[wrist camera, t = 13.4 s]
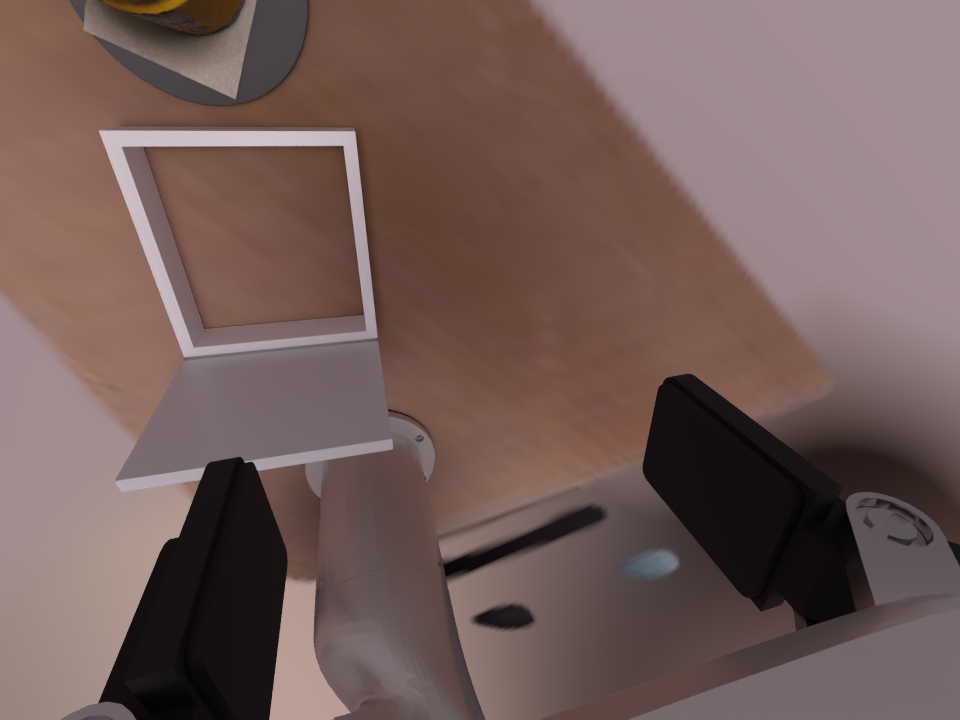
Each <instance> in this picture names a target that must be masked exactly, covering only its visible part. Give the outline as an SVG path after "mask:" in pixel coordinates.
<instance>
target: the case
mask: <svg viewBox="0 0 960 720" xmlns="http://www.w3.org/2000/svg"><path fill="white" fill-rule="evenodd" d="M99 132H100V135H101V137H102V140H103V143H104V145H105V148H106V151H107V153H108V156H109V159H110V161H111V164H112V167H113V169H114V172H115V175H116V177H117V180H118V183H119V185H120V188H121V191H122V193H123V196H124V199H125V201H126V204H127V207H128V209H129V212H130V215H131V217H132V220H133V223H134V225H135V228H136V230H137V233H138V236H139V238H140V241H141V244H142V246H143V249H144V252H145V254H146V257H147V260H148V262H149V265H150V268H151V270H152V273H153V276H154V278H155V281H156V284H157V286H158V289H159V292H160V294H161V297H162V300H163V302H164V305H165V308H166V310H167V313H168V316H169V318H170V321H171V324H172V326H173V329H174V332H175V334H176V337H177V339H178V342H179V345H180V347H181V350H182V353H183V355H184V361H183V363H182V364H181V366H180V368H179V370H178V371H177V373H176V375H175V377H174V378H173V380H172V382H171V384H170V385H169V387H168V389H167V391H166V392H165V394H164V396H163V398H162V399H161V401H160V403H159V405H158V406H157V408H156V410H155V412H154V413H153V415H152V417H151V419H150V420H149V422H148V424H147V426H146V427H145V429H144V431H143V433H142V434H141V436H140V438H139V440H138V441H137V443H136V445H135V447H134V448H133V450H132V452H131V454H130V456H129V457H128V459H127V461H126V462H125V464H124V466H123V468H122V469H121V471H120V473H119V475H118V476H117V478H116V480H115V482H116V484H117V486H118V487H119V489H120V491H121V492H127V491H133V490H139V489H146V488H152V487H158V486H165V485H171V484H177V483H184V482H190V481H196V480H201V478H202V475H203V473H204V470H205V467H206V466H207V464H208V463H209V462H213V461H218V460H224V459H229V458H234V457H242V459H243V460H244V462H245V463H247V462H253V463H254V464H255V466H256V469H257V471H260V470H266V469H272V468H279V467H285V466H291V465H298V464H304V463H310V462H317V461H323V460H329V459H336V458H342V457H348V456H355V455H361V454H367V453H374V452H380V451H386V450H393V443H392V435H391V428H390V421H389V414H388V407H387V400H386V393H385V386H384V379H383V372H382V365H381V358H380V351H379V344H378V336H377V327H376V317H375V308H374V299H373V290H372V281H371V272H370V262H369V253H368V244H367V235H366V226H365V217H364V208H363V198H362V189H361V180H360V171H359V162H358V153H357V144H356V134H355V129H354V128H343V127H170V126H120V127H114V128H109V129H104V130H99ZM143 146H344V154H345V162H346V170H347V178H348V186H349V194H350V203H351V211H352V219H353V227H354V235H355V243H356V251H357V259H358V267H359V276H360V284H361V292H362V300H363V308H364V315H355V316H344V317H332V318H321V319H310V320H298V321H287V322H276V323H264V324H253V325H241V326H230V327H219V328H207V329H204V326H203V323H202V320H201V317H200V314H199V311H198V308H197V305H196V302H195V300H194V297H193V294H192V291H191V288H190V285H189V282H188V279H187V276H186V273H185V270H184V267H183V264H182V261H181V258H180V255H179V252H178V249H177V246H176V243H175V240H174V237H173V234H172V231H171V228H170V225H169V222H168V219H167V216H166V213H165V210H164V207H163V204H162V201H161V198H160V195H159V192H158V189H157V186H156V183H155V180H154V177H153V174H152V171H151V168H150V165H149V162H148V159H147V157H146V154H145V151H144V148H143Z"/></svg>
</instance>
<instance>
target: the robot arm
mask: <svg viewBox="0 0 960 720" xmlns="http://www.w3.org/2000/svg"><path fill="white" fill-rule="evenodd" d="M388 414H389V421H390V428H391V435H392V443H393V450H386V451H380V452H374V453H367V454H361V455H355V456H348V457H342V458H336V459H329V460H323V461H317V462H310V463H305V476H306V480H307V483H308V485H309V486H310V488H311V490H312V491H313V492H314V493H315V494H316V495H317V496H318V497H319V498H320V518H319V537H318V557H317V577H316V597H315V617H314V648H315V653H316V658H317V661H318V664H319V667H320V670H321V672H322V674H323V675H324V677H325V679H326V681H327V683H328V684H329V686H330V687H331V688H332V690H333V691H334V692H335V693H336V695H337V696H338V698H339V699H340V700H341V701H342V702H343V704H344V705H345V706H346V707H347V708H348V710H349V711H350V712H351V713H350V714H346V715H343V716H339V717H335V718H334V720H485V717H484V715H483V713H482V709H481V707H480V704H479V701H478V699H477V696H476V693H475V690H474V687H473V684H472V681H471V678H470V675H469V672H468V669H467V665H466V661H465V658H464V654H463V651H462V647H461V643H460V639H459V635H458V631H457V626H456V622H455V618H454V614H453V609H452V604H451V600H450V595H449V590H448V586H447V582H446V577H445V572H444V567H443V563H442V558H441V553H440V548H439V544H438V539H437V534H436V529H435V525H434V520H433V515H432V510H431V506H430V501H429V496H428V491H427V487H426V483H427V481H428V480H429V478H430V476H431V474H432V472H433V469H434V466H435V459H436V455H435V449H434V445H433V442H432V439H431V437H430V435H429V434H428V432H427V430H426V429H425V428H424V427H423V426H422V425H421V424H419V423H418V422H416V421H415V420H413V419H412V418H410V417H407V416H405V415H402V414H399V413H395V412H390V411H388ZM643 473H644V476H645V478H646V479H647V481H648V482H649V483H650V485H651V486H652V487H653V488H654V489H655V491H656V492H657V493H658V494H659V495H660V497H661V498H662V499H663V500H664V502H665V503H666V504H667V505H668V506H669V508H670V509H671V510H672V511H673V512H674V514H675V515H676V516H677V517H678V519H679V520H680V521H681V522H682V523H683V525H684V526H685V527H686V528H687V530H688V531H689V532H690V533H691V534H692V536H693V537H694V538H695V539H696V540H697V542H698V543H699V544H700V545H701V547H702V548H703V549H704V550H705V551H706V553H708V555H709V556H710V557H711V559H712V560H713V561H714V562H715V564H716V565H717V566H718V567H719V568H720V570H721V571H722V572H723V573H724V574H725V576H726V577H727V578H728V579H729V581H730V582H731V583H732V584H733V585H734V586H735V588H736V589H737V590H738V591H739V592H740V593H741V594H742V595H743V596H745V597H747V598H750V599H751V600H752V601H753V602H754V604H755V605H756V606H757V607H758V608H759V610H760V611H764V610H767V609H770V608H773V607H776V606H779V605H782V604H783V602H784V600H786V601H787V602H788V603H789V604H790V605H791V607H792V608H793V613H794V620H795V628H796V631H795V632H792V633H789V634H786V635H783V636H780V637H777V638H775V639H771V640H768V641H765V642H763V643H760V644H757V645H754V646H751V647H748V648H745V649H742V650H739V651H736V652H733V653H731V654H727V655H725V656H721V657H718V658H716V659H713V660H710V661H707V662H704V663H701V664H698V665H695V666H692V667H690V668H687V669H684V670H681V671H678V672H675V673H672V674H669V675H666V676H664V677H661V678H658V679H655V680H652V681H649V682H646V683H643V684H640V685H637V686H635V687H632V688H629V689H626V690H623V691H621V692H617V693H615V694H612V695H609V696H606V697H603V698H600V699H597V700H594V701H592V702H589V703H586V704H583V705H580V706H577V707H575V708H571V709H569V710H566V711H563V712H560V713H557V714H554V715H551V716H548V717H546V718H543V719H540V720H960V545H959V544H956V543H952V542H949V541H946V538H945V536H944V534H943V533H942V531H941V530H940V529H939V527H938V526H937V525H936V524H935V523H934V522H933V521H932V520H931V519H930V518H929V517H927V516H926V515H925V514H924V513H922V512H921V511H919V510H917V509H916V508H914V507H912V506H911V505H909V504H907V503H905V502H902V501H900V500H898V499H896V498H892V497H889V496H886V495H883V494H877V493H871V492H864V493H863V492H862V493H856V494H853V495H851V496H850V497H849V498H848V500H847V501H846V502H844V501H842V500H841V499H840V498H838V495H839V493H840V491H841V489H842V487H841V486H840V485H839V484H837V483H836V482H835V481H833V480H832V479H831V478H829V477H828V476H827V475H825V474H824V473H823V472H821V471H820V470H818V469H817V468H816V467H815V466H813V465H812V464H811V463H809V462H808V461H807V460H805V459H804V458H803V457H802V456H800V455H799V454H797V453H796V452H795V451H794V450H792V449H791V448H789V447H788V446H787V445H786V444H784V443H783V442H782V441H780V440H779V439H777V438H776V437H775V436H774V435H772V434H771V433H770V432H768V431H767V430H766V429H764V428H763V427H762V426H760V425H759V424H758V423H756V422H755V421H754V420H752V419H751V418H750V417H749V416H747V415H746V414H745V413H743V412H742V411H741V410H739V409H738V408H737V407H735V406H734V405H733V404H731V403H730V402H729V401H727V400H726V399H725V398H723V397H722V396H721V395H719V394H718V393H717V392H715V391H714V390H713V389H711V388H710V387H709V386H707V385H706V384H705V383H703V382H702V381H701V380H699V379H698V378H697V377H695V376H694V375H692V374H684V375H678V376H673V377H668V378H666V379H665V380H664V382H663V384H662V385H660V387H659V389H658V392H657V397H656V402H655V407H654V412H653V417H652V422H651V427H650V432H649V437H648V441H647V446H646V451H645V456H644V461H643ZM287 563H288V562H287V551H286V547H285V544H284V542H283V539H282V536H281V534H280V531H279V528H278V525H277V523H276V520H275V517H274V515H273V512H272V509H271V507H270V504H269V501H268V498H267V496H266V493H265V490H264V488H263V485H262V482H261V480H260V477H259V474H258V472H257V469H256V466H255V464H254V463H253V462H247V463H245V462H244V460H243V459H242V457H234V458H229V459H224V460H218V461H213V462H209V463H208V464H207V466H206V467H205V470H204V473H203V475H202V478H201V480H200V483H199V486H198V488H197V491H196V494H195V496H194V499H193V501H192V504H191V507H190V509H189V512H188V515H187V517H186V520H185V523H184V525H183V528H182V530H181V533H180V536H179V537H178V538H174V539H170V540H168V541H167V542H166V543H165V545H164V546H163V548H162V550H161V552H160V554H159V556H158V559H157V561H156V564H155V566H154V569H153V571H152V573H151V576H150V578H149V581H148V583H147V586H146V588H145V590H144V593H143V595H142V598H141V600H140V603H139V605H138V608H137V610H136V612H135V615H134V617H133V620H132V622H131V625H130V627H129V629H128V632H127V634H126V637H125V639H124V642H123V644H122V647H121V649H120V651H119V654H118V657H117V659H116V661H115V664H114V666H113V668H112V671H111V673H110V676H109V678H108V681H107V683H106V686H105V688H104V690H103V693H102V695H101V698H100V700H99V703H98V704H93V705H88V706H86V707H84V708H82V709H80V710H78V711H75V712H73V713H71V714H69V715H68V716H66V717H64V718H63V719H61V720H269V716H270V708H271V699H272V690H273V682H274V674H275V666H276V657H277V649H278V641H279V632H280V623H281V615H282V607H283V599H284V590H285V582H286V573H287Z"/></svg>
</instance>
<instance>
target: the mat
mask: <svg viewBox="0 0 960 720" xmlns="http://www.w3.org/2000/svg"><path fill="white" fill-rule="evenodd" d="M70 2H71V4H72V6H73V7H74V9H75V10H76V12H77V14H78V15H79V17H80V18H81V20H82V21H83V23H84V18H85V6H86V0H70ZM307 22H308V0H257V1H256V6H255V11H254V15H253V20H252V24H251V29H250V33H249V38H248V42H247V47H246V52H245V56H244V61H243V66H242V72H241V76H240V81H239V85H238V91H237V95H236V99H234V98H232V97H229V96H227V95H225V94H223V93H221V92H218V91H216V90H214V89H212V88H210V87H208V86H205V85H203V84H201V83H199V82H196V81H194V80H193V79H190V78H188V77H186V76H184V75H181V74H179V73H178V72H175V71H173V70H170V69H168V68H166V67H164V66H162V65H159V64H157V63H155V62H153V61H151V60H148V59H146V58H144V57H142V56H140V55H137V54H135V53H133V52H131V51H129V50H126V49H124V48H122V47H120V46H117V45H115V44H113V43H111V42H109V41H106V40H104V39H102V38H99V37H97V36H95V35H94V37H95V38H96V39H97V40H98V41H99V42H100V43H101V44H102V46H103V47H104V48H105V49H106V50H107V51H108V52H109V53H110V54H111V55H112V56H113V57H114V58H115V59H117V60H118V61H119V62H120V63H121V64H122V65H123V66H125V67H126V68H127V69H128V70H130V71H131V72H132V73H134V74H135V75H137V76H138V77H139V78H141V79H142V80H144V81H146V82H147V83H149V84H151V85H152V86H154V87H156V88H157V89H159V90H162V91H164V92H166V93H168V94H170V95H172V96H175V97H178V98H181V99H184V100H187V101H191V102H196V103H200V104H207V105H234V104H239V103H244V102H248V101H251V100H254V99H256V98H259V97H261V96H263V95H265V94H266V93H268V92H270V91H271V90H273V89H274V88H275V87H276V86H278V85H279V84H280V83H281V82H282V81H283V80H284V79H285V77H286V76H287V75H288V74H289V73H290V71H291V69H292V68H293V66H294V65H295V63H296V61H297V59H298V57H299V54H300V52H301V50H302V46H303V43H304V39H305V35H306V29H307ZM208 38H209V37H208Z"/></svg>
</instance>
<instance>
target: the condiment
mask: <svg viewBox="0 0 960 720" xmlns="http://www.w3.org/2000/svg"><path fill="white" fill-rule="evenodd" d="M256 1H257V0H86V6H85V18H84V31H86V32H88V33H91V34H93V35H95V36H97V37H99V38H102V39H104V40H106V41H109V42H111V43H113V44H115V45H117V46H120V47H122V48H124V49H126V50H129V51H131V52H133V53H135V54H137V55H140V56H142V57H144V58H146V59H148V60H151V61H153V62H155V63H157V64H159V65H162V66H164V67H166V68H168V69H170V70H173V71H175V72H178V73H179V74H181V75H184V76H186V77H188V78H190V79H193V80H194V81H196V82H199V83H201V84H203V85H205V86H208V87H210V88H212V89H214V90H216V91H218V92H221V93H223V94H225V95H227V96H229V97H232V98H234V99H236V95H237V91H238V85H239V81H240V76H241V72H242V66H243V61H244V56H245V52H246V47H247V42H248V38H249V33H250V29H251V24H252V20H253V15H254V11H255V6H256ZM208 37H209V38H208Z"/></svg>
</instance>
